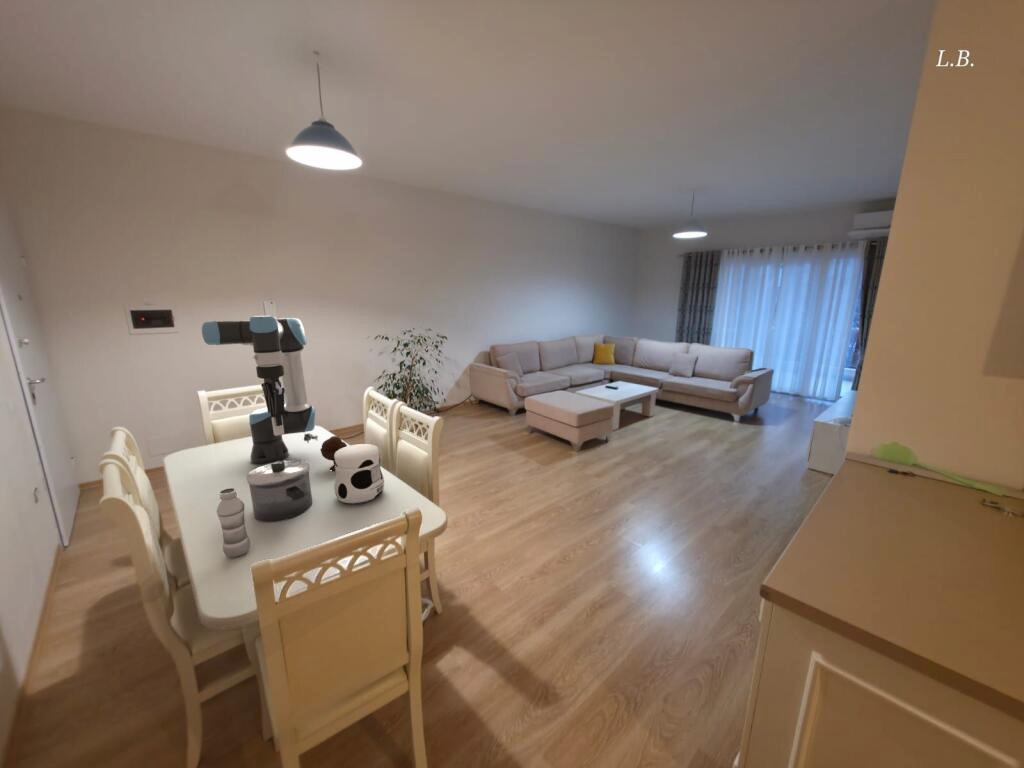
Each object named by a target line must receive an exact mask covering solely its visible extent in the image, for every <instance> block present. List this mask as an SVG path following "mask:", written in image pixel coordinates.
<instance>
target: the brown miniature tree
mask: <svg viewBox="0 0 1024 768" xmlns="http://www.w3.org/2000/svg"><path fill="white" fill-rule="evenodd" d="M347 446H348V444H347V443H346V442H345V441H342V438H341V437H339V436H338V435H333V436H330V438H327V439H326V440H325V441H323V442H322V445H321V448H319V450H320V453H321V456H322V458H324V459H326V460H328V461H332V462H333V465H331V466H330V467H329V471H330V470H332V471H331V472H335V462H334V454H335V453H336V451H338V450H339V449H341V448H344V447H347Z"/></svg>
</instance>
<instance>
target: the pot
mask: <svg viewBox="0 0 1024 768" xmlns="http://www.w3.org/2000/svg"><path fill="white" fill-rule="evenodd" d="M310 479H311V478H310V470H309V471H308V472H307V473H305V474H304V475H302V476H300V477H298V478H295V479H293V480H290V481H287V482H283V483H279V484H273V485H265V486H255V485H250V484H248V485H249V491H250V498H251V503H252V504H251V505H252V511H253V515H254V516H253V517H254V518H255V519H256V520H257V521H259V522H262V523H276V522H277V523H278V522H283V521H288V520H290V519H294V518H296V517H298V516H300V515H303V514H304V513H305V512H307V511H308V510H310V508H311V507H312V505H313V497H312V496H313V495H312V488H311V480H310Z"/></svg>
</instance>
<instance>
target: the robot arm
mask: <svg viewBox="0 0 1024 768" xmlns="http://www.w3.org/2000/svg"><path fill="white" fill-rule="evenodd" d="M201 325H202V326H201V336H202V339H203V341H204V343H205V344H206V345H209V346H224V345H225V346H226V345H242V346H252V347H253V356H252V358H253V360H254V361H255V365H257V366H255V370H256V377H257V378H258V379H261V380H262V379H263V383H261V384H260V385H261V388H262V392H263V396H264V401H265V404H266V407H262V408H259V409H256V410H254V411H252V412H251V413H250V414H249V417H248V418H249V426H250V433H251V438H252V448H251V453H250V462H251V463H252V464H255V465H267V464H271V463H273V462H276V461H283V460H284V459H286V458H287V457H289V454H290V453H289V448H288V447H287V445H286V444H285V443H286V442H284V439H283V435H284V436H285V435H290V434H301V433H307V432H312V431H314V429H315V426H316V407H315V406H313V405H312V403H311V402H310V401H309V400H308V397H307V389H306V383H305V375H304V368H303V362H302V361H303V360H302V356H301V352H302V351H303V350H304V346H306V345H307V337H306V332H305V331H306V330H305V328H304V325H303V323H302V321H301V320H300V318H295V317H290V318H289V317H278V318H277V317H276V316H274V315H253V316H251V317H249V319H248V320H232V321H231V320H224V321H223V320H222V321H216V320H213V321H206V322H203V324H201ZM280 378H281V381H282V383H281V381H280ZM282 386H283V387H282Z"/></svg>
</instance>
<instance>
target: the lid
mask: <svg viewBox="0 0 1024 768" xmlns="http://www.w3.org/2000/svg"><path fill="white" fill-rule="evenodd" d="M310 468H311V467H310V463H309V461H307V460H303V459H287V460H280V461H276V462H273V463H267V464H263V465H262V466H259V467H256V468H254V469H253V470H251V471H249V472H248V473H247V475H246V477H245V479H246V483H247V484H248V485H249V484H250V485H255V486H265V485H273V484H279V483H283V482H287V481H290V480H293V479H295V478H298V477H300V476H302V475H304V474H305V473H307V472H308V471H309V472H310V470H311V469H310Z"/></svg>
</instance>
